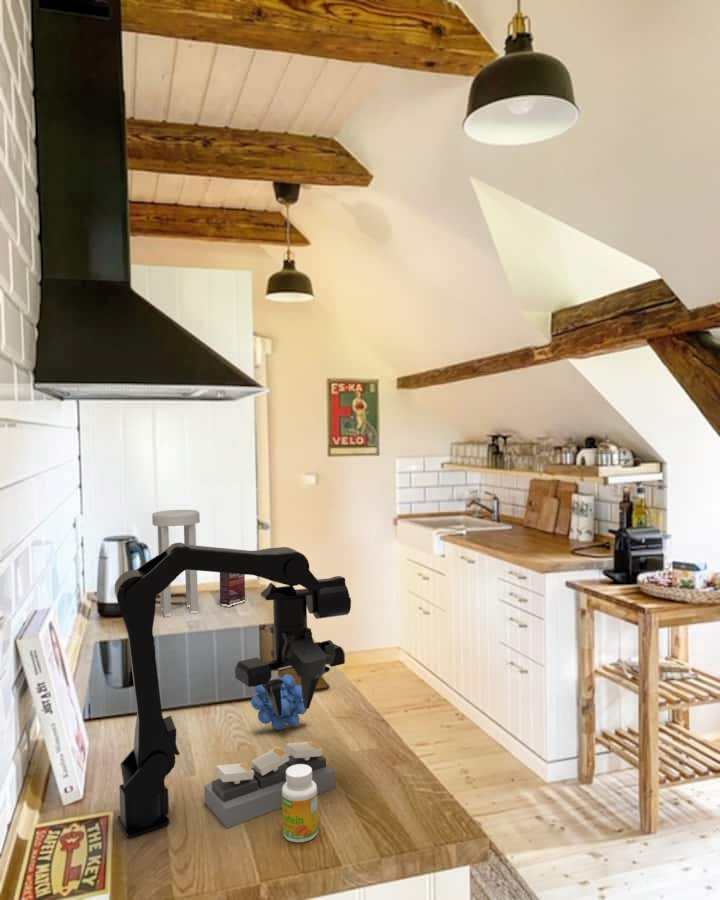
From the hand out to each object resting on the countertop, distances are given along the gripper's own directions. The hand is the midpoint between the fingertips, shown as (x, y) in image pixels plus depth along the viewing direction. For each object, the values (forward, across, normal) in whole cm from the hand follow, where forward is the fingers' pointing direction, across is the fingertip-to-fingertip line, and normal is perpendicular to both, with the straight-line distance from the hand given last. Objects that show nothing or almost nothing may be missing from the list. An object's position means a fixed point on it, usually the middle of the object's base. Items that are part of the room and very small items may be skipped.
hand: (292, 712), depth 117 cm
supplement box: (+13, +45, +126) cm, 134 cm away
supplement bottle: (+13, -6, -13) cm, 19 cm away
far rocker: (+8, +2, 0) cm, 8 cm away
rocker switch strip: (+13, -5, 0) cm, 14 cm away
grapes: (+13, +8, +21) cm, 26 cm away
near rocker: (+8, -11, 0) cm, 14 cm away
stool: (+13, +26, +129) cm, 132 cm away
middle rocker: (+8, -4, 0) cm, 9 cm away
